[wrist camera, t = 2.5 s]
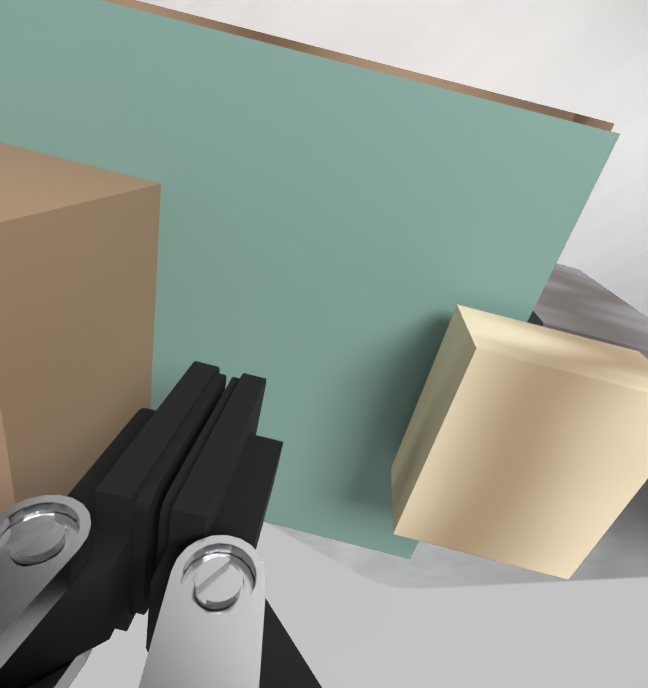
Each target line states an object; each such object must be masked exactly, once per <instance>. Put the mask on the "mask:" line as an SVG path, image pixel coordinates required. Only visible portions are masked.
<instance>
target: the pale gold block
mask: <svg viewBox="0 0 648 688" xmlns="http://www.w3.org/2000/svg"><path fill="white" fill-rule="evenodd" d="M647 479H648V359H647V358H646V357H645V356H643V355H642V354H641V353H640V352H639V351H635V350H631V349H628V348H624V347H620V346H616V345H612V344H608V343H604V342H601V341H597V340H593V339H589V338H585V337H581V336H577V335H573V334H570V333H566V332H562V331H558V330H554V329H550V328H546V327H543V326H539V325H535V324H531V323H527V322H523V321H519V320H516V319H512V318H508V317H504V316H500V315H496V314H492V313H488V312H485V311H481V310H477V309H473V308H469V307H465V306H461V305H458V304H457V306H456V308H455V311H454V313H453V316H452V318H451V321H450V323H449V326H448V328H447V331H446V333H445V336H444V338H443V341H442V343H441V345H440V348H439V350H438V353H437V355H436V358H435V360H434V363H433V365H432V368H431V370H430V373H429V375H428V378H427V380H426V383H425V385H424V388H423V390H422V393H421V395H420V398H419V400H418V403H417V405H416V408H415V410H414V413H413V415H412V418H411V420H410V423H409V425H408V428H407V430H406V433H405V435H404V438H403V440H402V443H401V445H400V447H399V450H398V452H397V455H396V457H395V460H394V462H393V465H392V467H391V481H392V512H393V534H395V535H399V536H403V537H407V538H411V539H414V540H418V541H422V542H426V543H430V544H434V545H437V546H441V547H445V548H449V549H453V550H457V551H461V552H464V553H468V554H472V555H476V556H480V557H484V558H487V559H491V560H495V561H499V562H503V563H507V564H511V565H514V566H518V567H522V568H526V569H530V570H534V571H538V572H541V573H545V574H549V575H553V576H557V577H561V578H564V579H569V578H570V577H571V575H572V574H573V573H574V572H575V570H576V569H577V568H578V567H579V565H580V564H581V563H582V561H583V560H584V559H585V558H586V556H587V555H588V554H589V553H590V551H591V550H592V549H593V547H594V546H595V545H596V544H597V542H598V541H599V540H600V539H601V537H602V536H603V535H604V533H605V532H606V531H607V530H608V528H609V527H610V526H611V525H612V523H613V522H614V521H615V519H616V518H617V517H618V516H619V514H620V513H621V512H622V511H623V509H624V508H625V507H626V505H627V504H628V503H629V502H630V500H631V499H632V498H633V497H634V495H635V494H636V493H637V491H638V490H639V489H640V488H641V486H642V485H643V484H644V483H645V481H646V480H647Z"/></svg>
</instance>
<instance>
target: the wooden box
mask: <svg viewBox="0 0 648 688" xmlns="http://www.w3.org/2000/svg"><path fill="white" fill-rule="evenodd" d="M102 1H106V2H110V3H114V4H118V5H122V6H126V7H130V8H133V9H137V10H141V11H145V12H149V13H153V14H157V15H161V16H164V17H168V18H172V19H176V20H180V21H184V22H188V23H192V24H196V25H199V26H203V27H207V28H211V29H215V30H219V31H223V32H227V33H230V34H234V35H238V36H242V37H246V38H250V39H254V40H258V41H261V42H265V43H269V44H273V45H277V46H281V47H285V48H289V49H293V50H296V51H300V52H304V53H308V54H312V55H316V56H320V57H324V58H327V59H331V60H335V61H339V62H343V63H347V64H351V65H355V66H359V67H362V68H366V69H370V70H374V71H378V72H382V73H386V74H390V75H393V76H397V77H401V78H405V79H409V80H413V81H417V82H421V83H424V84H428V85H432V86H436V87H440V88H444V89H448V90H452V91H456V92H459V93H463V94H467V95H471V96H475V97H479V98H483V99H487V100H490V101H494V102H498V103H502V104H506V105H510V106H514V107H518V108H522V109H525V110H529V111H533V112H537V113H541V114H545V115H549V116H553V117H556V118H560V119H564V120H568V121H572V122H576V123H580V124H584V125H588V126H591V127H595V128H599V129H603V130H607V131H611V130H612V128H613V125H614V123H610V122H606V121H602V120H598V119H594V118H591V117H587V116H583V115H579V114H575V113H571V112H567V111H563V110H559V109H556V108H552V107H548V106H544V105H540V104H536V103H532V102H528V101H525V100H521V99H517V98H513V97H509V96H505V95H501V94H497V93H494V92H490V91H486V90H482V89H478V88H474V87H470V86H466V85H462V84H459V83H455V82H451V81H447V80H443V79H439V78H435V77H431V76H428V75H424V74H420V73H416V72H412V71H408V70H404V69H400V68H396V67H393V66H389V65H385V64H381V63H377V62H373V61H369V60H365V59H362V58H358V57H354V56H350V55H346V54H342V53H338V52H334V51H330V50H327V49H323V48H319V47H315V46H311V45H307V44H303V43H299V42H296V41H292V40H288V39H284V38H280V37H276V36H272V35H268V34H264V33H261V32H257V31H253V30H249V29H245V28H241V27H237V26H233V25H230V24H226V23H222V22H218V21H214V20H210V19H206V18H202V17H198V16H195V15H191V14H187V13H183V12H179V11H175V10H171V9H167V8H164V7H160V6H156V5H152V4H148V3H144V2H140V1H136V0H102ZM527 323H531V324H535V325H539V326H543V327H546V328H550V329H554V330H558V331H562V332H566V333H570V334H573V335H577V336H581V337H585V338H589V339H593V340H597V341H601V342H604V343H608V344H612V345H616V346H620V347H624V348H628V349H631V350H635V351H639V352H640V353H641V354H642V355H643V356H645V357H646V358H647V359H648V318H647V317H646V316H644V315H643V314H642V313H640V312H639V311H637V310H636V309H634V308H633V307H632V306H630V305H629V304H627V303H626V302H624V301H623V300H622V299H620V298H619V297H617V296H616V295H614V294H613V293H612V292H610V291H609V290H607V289H606V288H604V287H603V286H601V285H600V284H599V283H597V282H596V281H594V280H593V279H591V278H590V277H589V276H587V275H586V274H584V273H583V272H581V271H580V270H579V269H575V268H571V267H567V266H563V265H559V264H556V265H555V267H554V269H553V271H552V273H551V275H550V277H549V279H548V281H547V283H546V285H545V287H544V289H543V291H542V293H541V295H540V297H539V299H538V301H537V303H536V305H535V307H534V309H533V311H532V313H531V315H530V317H529V319H528V321H527Z"/></svg>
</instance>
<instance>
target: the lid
mask: <svg viewBox="0 0 648 688" xmlns="http://www.w3.org/2000/svg"><path fill="white" fill-rule="evenodd" d="M619 135H620V134H619V133H615V132H611V131H607V130H603V129H599V128H595V127H591V126H588V125H584V124H580V123H576V122H572V121H568V120H564V119H560V118H556V117H553V116H549V115H545V114H541V113H537V112H533V111H529V110H525V109H522V108H518V107H514V106H510V105H506V104H502V103H498V102H494V101H490V100H487V99H483V98H479V97H475V96H471V95H467V94H463V93H459V92H456V91H452V90H448V89H444V88H440V87H436V86H432V85H428V84H424V83H421V82H417V81H413V80H409V79H405V78H401V77H397V76H393V75H390V74H386V73H382V72H378V71H374V70H370V69H366V68H362V67H359V66H355V65H351V64H347V63H343V62H339V61H335V60H331V59H327V58H324V57H320V56H316V55H312V54H308V53H304V52H300V51H296V50H293V49H289V48H285V47H281V46H277V45H273V44H269V43H265V42H261V41H258V40H254V39H250V38H246V37H242V36H238V35H234V34H230V33H227V32H223V31H219V30H215V29H211V28H207V27H203V26H199V25H196V24H192V23H188V22H184V21H180V20H176V19H172V18H168V17H164V16H161V15H157V14H153V13H149V12H145V11H141V10H137V9H133V8H130V7H126V6H122V5H118V4H114V3H110V2H106V1H102V0H0V513H1V512H2V511H4V510H5V509H7V508H8V507H10V506H11V505H14V504H16V503H19V502H21V501H23V500H26V499H28V498H33V497H38V496H42V495H62V496H67V495H68V494H69V493H70V492H71V490H72V489H73V488H74V487H75V486H76V484H77V483H78V482H79V481H80V480H81V478H82V477H83V476H84V475H85V474H86V472H87V471H88V470H89V469H90V468H91V466H92V465H93V464H94V463H95V462H96V460H97V459H98V458H99V457H100V456H101V454H102V453H103V452H104V451H105V450H106V448H107V447H108V446H109V445H110V444H111V442H112V441H113V440H114V439H115V438H116V436H117V435H118V434H119V433H120V432H121V430H122V429H123V428H124V427H125V426H126V424H127V423H128V422H129V421H130V420H131V418H132V417H133V416H134V415H135V414H136V413H137V412H138V411H139V410H140V409H141V408H148V409H152V410H157V409H158V408H159V406H160V405H161V404H162V402H163V401H164V400H165V398H166V397H167V396H168V394H169V393H170V392H171V391H172V389H173V388H174V387H175V385H176V384H177V383H178V381H179V380H180V379H181V378H182V376H183V375H184V374H185V372H186V371H187V370H188V368H189V367H190V366H191V365H192V363H193V362H194V361H198V362H202V363H206V364H210V365H214V366H218V367H219V369H220V374H224V375H226V377H227V378H226V386H225V389H226V387H227V385H228V384H229V382H230V380H231V378H232V377H236V378H240V377H241V376H242V374H243V373H246V374H250V375H254V376H258V377H262V378H266V379H267V380H266V387H265V392H264V397H263V402H262V407H261V412H260V418H259V423H258V428H257V433H256V435H258V436H262V437H266V438H270V439H274V440H279V441H283V447H282V451H281V455H280V459H279V464H278V468H277V472H276V476H275V480H274V484H273V488H272V492H271V495H270V499H269V503H268V507H267V510H266V514H265V518H264V521H265V522H269V523H273V524H276V525H280V526H284V527H288V528H292V529H296V530H300V531H303V532H307V533H311V534H315V535H319V536H323V537H326V538H330V539H334V540H338V541H342V542H346V543H350V544H353V545H357V546H361V547H365V548H369V549H373V550H376V551H380V552H384V553H388V554H392V555H396V556H400V557H403V558H407V559H410V558H411V556H412V554H413V552H414V550H415V548H416V546H417V544H418V542H419V541H418V540H414V539H411V538H407V537H403V536H399V535H395V534H393V512H392V481H391V467H392V465H393V462H394V460H395V457H396V455H397V452H398V450H399V447H400V445H401V443H402V440H403V438H404V435H405V433H406V430H407V428H408V425H409V423H410V420H411V418H412V415H413V413H414V410H415V408H416V405H417V403H418V400H419V398H420V395H421V393H422V390H423V388H424V385H425V383H426V380H427V378H428V375H429V373H430V370H431V368H432V365H433V363H434V360H435V358H436V355H437V353H438V350H439V348H440V345H441V343H442V341H443V338H444V336H445V333H446V331H447V328H448V326H449V323H450V321H451V318H452V316H453V313H454V311H455V308H456V306H457V304H458V305H461V306H465V307H469V308H473V309H477V310H481V311H485V312H488V313H492V314H496V315H500V316H504V317H508V318H512V319H516V320H519V321H523V322H527V321H528V319H529V317H530V315H531V313H532V311H533V309H534V307H535V305H536V303H537V301H538V299H539V297H540V295H541V293H542V291H543V289H544V287H545V285H546V283H547V281H548V279H549V277H550V275H551V273H552V271H553V269H554V267H555V265H556V263H557V261H558V259H559V257H560V255H561V252H562V250H563V248H564V246H565V244H566V242H567V240H568V238H569V236H570V234H571V232H572V230H573V228H574V226H575V224H576V222H577V220H578V218H579V216H580V214H581V212H582V210H583V208H584V206H585V204H586V202H587V200H588V198H589V196H590V194H591V192H592V190H593V188H594V186H595V184H596V182H597V180H598V178H599V176H600V174H601V172H602V170H603V168H604V166H605V163H606V161H607V159H608V157H609V155H610V153H611V151H612V149H613V147H614V145H615V143H616V141H617V139H618V137H619Z"/></svg>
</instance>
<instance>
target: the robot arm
mask: <svg viewBox="0 0 648 688" xmlns="http://www.w3.org/2000/svg"><path fill="white" fill-rule="evenodd" d="M226 378H227V377H226V375H224V374H220V369H219V367H218V366H214V365H210V364H206V363H202V362H198V361H194V362H193V363H192V365H191V366H190V367H189V368H188V370H187V371H186V372H185V374H184V375H183V376H182V378H181V379H180V380H179V381H178V383H177V384H176V385H175V387H174V388H173V389H172V391H171V392H170V393H169V394H168V396H167V397H166V398H165V400H164V401H163V402H162V404H161V405H160V406H159V408H158V409H157V410H152V409H148V408H141V409H140V410H139V411H138V412H137V413H136V414H135V415H134V416H133V417H132V418H131V420H130V421H129V422H128V423H127V424H126V426H125V427H124V428H123V429H122V430H121V432H120V433H119V434H118V435H117V436H116V438H115V439H114V440H113V441H112V442H111V444H110V445H109V446H108V447H107V448H106V450H105V451H104V452H103V453H102V454H101V456H100V457H99V458H98V459H97V460H96V462H95V463H94V464H93V465H92V466H91V468H90V469H89V470H88V471H87V472H86V474H85V475H84V476H83V477H82V478H81V480H80V481H79V482H78V483H77V484H76V486H75V487H74V488H73V489H72V490H71V492H70V493H69V494H68V495H67V496H62V495H42V496H38V497H33V498H28V499H26V500H23V501H21V502H19V503H16V504H14V505H11V506H10V507H8V508H7V509H5V510H4V511H2V512H1V513H0V688H69V686H70V685H71V683H72V682H73V680H74V679H75V678H76V676H77V675H78V673H79V672H80V670H81V669H82V667H83V666H84V665H85V663H86V661H87V659H88V657H89V655H90V653H91V651H92V648H94V647H96V646H97V645H99V644H101V643H103V642H105V641H107V640H109V639H110V637H111V635H112V633H113V631H114V629H119V630H124V631H127V630H128V628H129V626H130V624H131V622H132V620H133V618H134V616H135V614H136V613H139V614H143V615H144V614H145V613H146V612H147V610H148V608H149V613H148V628H147V643H146V649H147V651H148V656H147V659H146V663H145V666H144V670H143V674H142V677H141V681H140V684H139V688H322V687H321V686H320V684H319V682H318V681H317V679H316V678H315V676H314V674H313V673H312V671H311V670H310V668H309V666H308V665H307V663H306V662H305V660H304V659H303V657H302V655H301V654H300V652H299V651H298V649H297V647H296V646H295V644H294V643H293V641H292V640H291V638H290V636H289V635H288V633H287V632H286V630H285V628H284V627H283V625H282V624H281V622H280V620H279V619H278V617H277V616H276V614H275V613H274V611H273V609H272V608H271V606H270V605H269V603H268V601H267V600H266V598H265V596H266V595H265V594H266V581H267V579H266V569H265V565H264V563H263V560H262V558H261V556H260V554H259V553H258V552H257V551H256V547H257V543H258V540H259V536H260V532H261V528H262V525H263V521H264V518H265V514H266V510H267V507H268V503H269V499H270V495H271V492H272V488H273V484H274V480H275V476H276V472H277V468H278V464H279V459H280V455H281V451H282V447H283V441H279V440H274V439H270V438H266V437H262V436H258V435H256V433H257V428H258V423H259V418H260V412H261V407H262V402H263V397H264V392H265V387H266V380H267V379H266V378H262V377H258V376H254V375H250V374H246V373H243V374H242V376H241V377H240V378H236V377H232V378H231V380H230V382H229V384H228V385H227V387H226V389H225V386H226Z"/></svg>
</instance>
